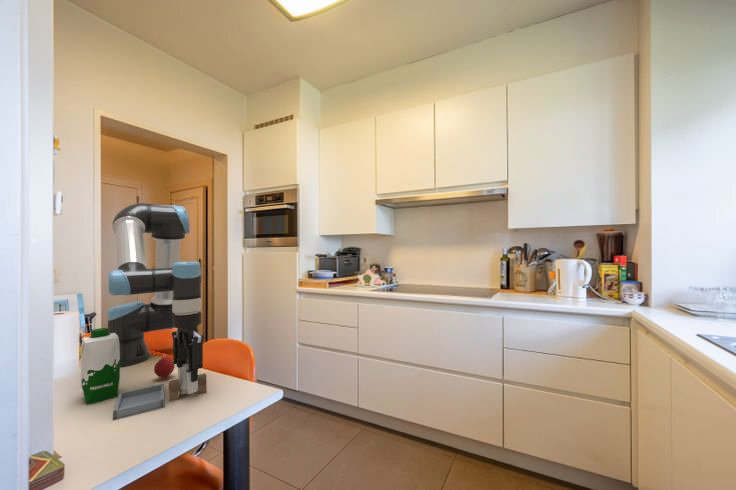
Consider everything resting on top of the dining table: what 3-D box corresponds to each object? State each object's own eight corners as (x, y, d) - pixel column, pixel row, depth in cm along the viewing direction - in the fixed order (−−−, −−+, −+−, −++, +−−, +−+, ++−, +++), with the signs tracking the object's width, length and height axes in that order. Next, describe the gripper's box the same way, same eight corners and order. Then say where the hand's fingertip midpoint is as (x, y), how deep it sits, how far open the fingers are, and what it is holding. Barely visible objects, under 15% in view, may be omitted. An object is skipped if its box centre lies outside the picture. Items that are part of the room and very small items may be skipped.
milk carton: (117, 387, 99) (117, 325, 99) (121, 396, 93) (121, 330, 93) (80, 397, 93) (79, 331, 93) (82, 407, 86) (82, 336, 87)
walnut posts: (169, 397, 91) (168, 380, 91) (205, 389, 96) (205, 373, 96) (169, 401, 88) (169, 384, 88) (206, 392, 94) (206, 376, 94)
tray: (119, 400, 90) (119, 393, 90) (164, 390, 96) (164, 383, 96) (113, 420, 79) (112, 411, 79) (164, 407, 85) (164, 399, 85)
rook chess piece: (199, 387, 94) (198, 361, 95) (190, 394, 90) (190, 367, 90) (184, 388, 94) (184, 361, 95) (175, 394, 90) (175, 367, 90)
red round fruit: (167, 381, 103) (166, 357, 103) (150, 382, 103) (149, 358, 103) (178, 374, 108) (177, 352, 109) (162, 375, 109) (161, 352, 109)
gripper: (215, 312, 91) (216, 391, 91) (184, 308, 101) (185, 379, 100) (190, 317, 85) (191, 402, 85) (159, 312, 94) (160, 388, 94)
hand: (188, 390), depth 92 cm, fingers closed on rook chess piece, 4 cm apart
